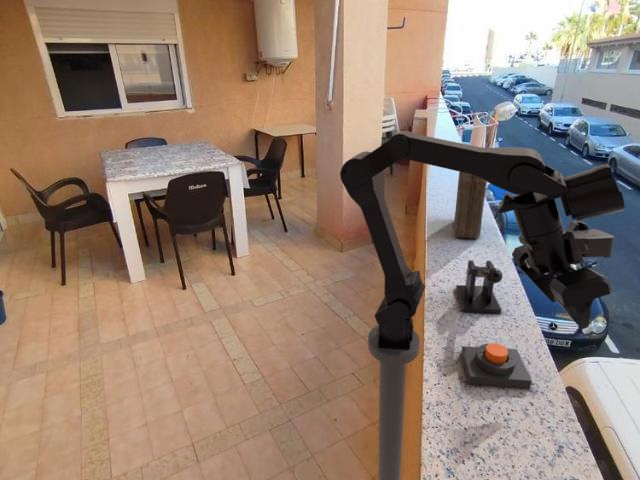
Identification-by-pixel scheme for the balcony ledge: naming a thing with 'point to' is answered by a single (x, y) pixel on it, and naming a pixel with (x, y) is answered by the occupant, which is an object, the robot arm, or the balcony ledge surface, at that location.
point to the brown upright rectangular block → (469, 206)
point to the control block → (495, 369)
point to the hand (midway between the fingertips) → (568, 313)
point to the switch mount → (477, 293)
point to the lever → (489, 274)
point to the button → (496, 353)
